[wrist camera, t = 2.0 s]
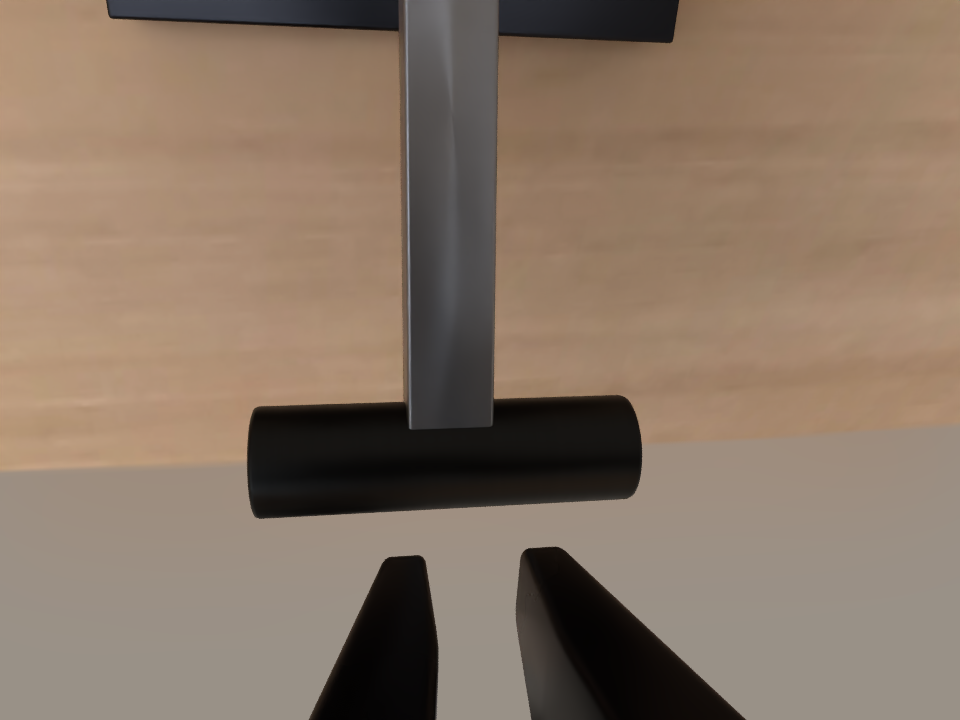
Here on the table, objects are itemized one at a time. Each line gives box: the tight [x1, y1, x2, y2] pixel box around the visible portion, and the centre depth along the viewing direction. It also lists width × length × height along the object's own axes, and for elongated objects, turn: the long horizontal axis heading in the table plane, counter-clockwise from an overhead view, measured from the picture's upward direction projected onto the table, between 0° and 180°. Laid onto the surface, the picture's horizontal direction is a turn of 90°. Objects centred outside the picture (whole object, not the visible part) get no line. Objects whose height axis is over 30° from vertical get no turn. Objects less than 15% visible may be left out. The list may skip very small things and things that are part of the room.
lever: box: [247, 0, 642, 519], centre depth 9 cm, size 12×5×2 cm, turn 177°
